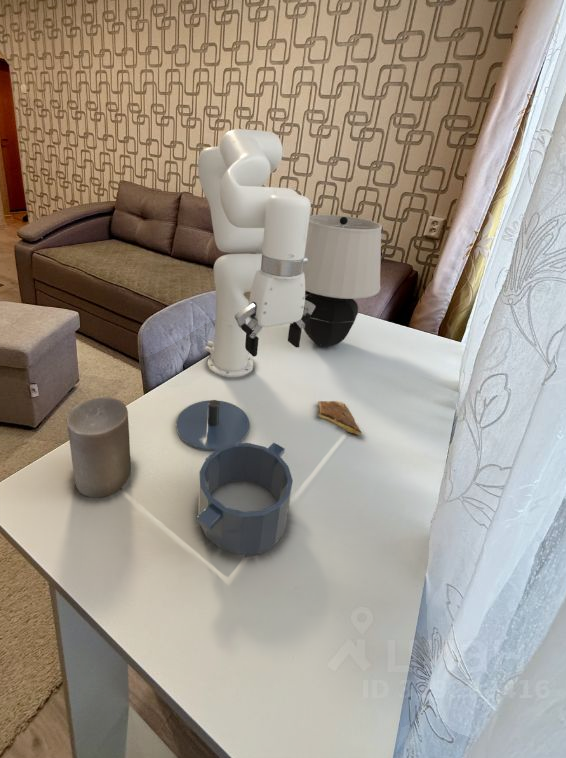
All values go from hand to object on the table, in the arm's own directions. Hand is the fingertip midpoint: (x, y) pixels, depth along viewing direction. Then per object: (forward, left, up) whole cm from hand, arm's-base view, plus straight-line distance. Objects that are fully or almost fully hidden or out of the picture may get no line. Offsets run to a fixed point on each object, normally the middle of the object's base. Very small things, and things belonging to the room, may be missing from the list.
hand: (272, 348), depth 77 cm
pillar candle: (-15, -29, -21) cm, 39 cm away
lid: (-9, -6, -20) cm, 23 cm away
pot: (+9, -19, -20) cm, 29 cm away
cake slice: (+11, +16, -21) cm, 28 cm away
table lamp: (-9, +47, -21) cm, 52 cm away
